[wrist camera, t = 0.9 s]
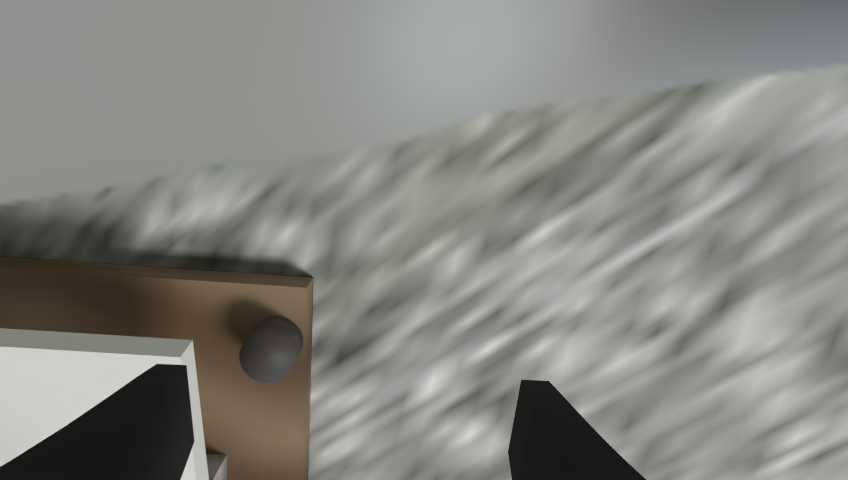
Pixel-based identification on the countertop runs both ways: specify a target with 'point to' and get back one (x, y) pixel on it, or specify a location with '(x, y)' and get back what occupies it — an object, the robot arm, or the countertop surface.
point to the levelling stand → (195, 345)
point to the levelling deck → (80, 383)
